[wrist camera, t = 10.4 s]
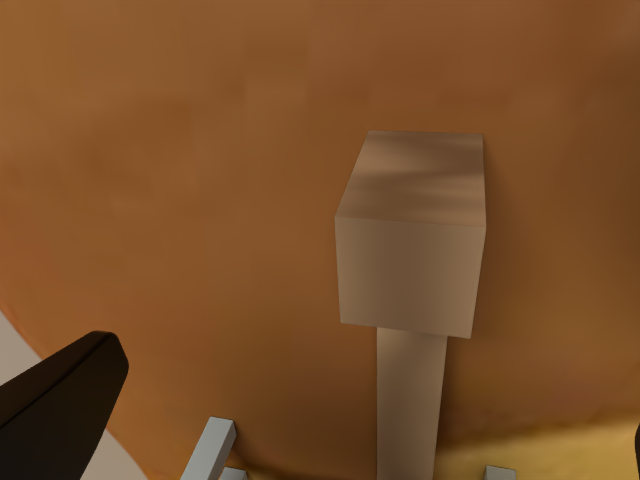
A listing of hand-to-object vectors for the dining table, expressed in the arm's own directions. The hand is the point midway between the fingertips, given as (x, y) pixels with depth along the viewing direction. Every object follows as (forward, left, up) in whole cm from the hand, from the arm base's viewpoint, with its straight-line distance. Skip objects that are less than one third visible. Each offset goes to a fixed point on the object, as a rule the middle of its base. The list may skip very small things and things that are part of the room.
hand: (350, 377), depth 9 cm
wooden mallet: (0, +12, -12) cm, 17 cm away
